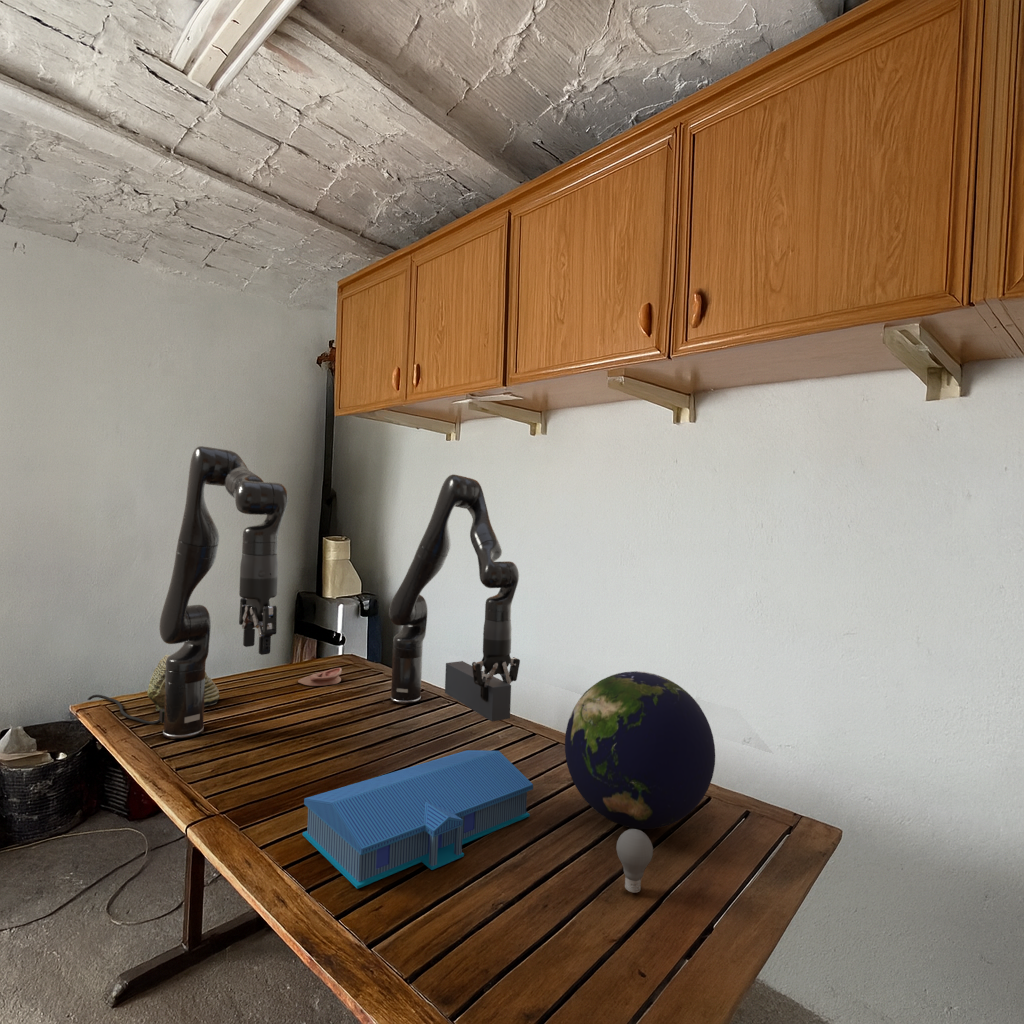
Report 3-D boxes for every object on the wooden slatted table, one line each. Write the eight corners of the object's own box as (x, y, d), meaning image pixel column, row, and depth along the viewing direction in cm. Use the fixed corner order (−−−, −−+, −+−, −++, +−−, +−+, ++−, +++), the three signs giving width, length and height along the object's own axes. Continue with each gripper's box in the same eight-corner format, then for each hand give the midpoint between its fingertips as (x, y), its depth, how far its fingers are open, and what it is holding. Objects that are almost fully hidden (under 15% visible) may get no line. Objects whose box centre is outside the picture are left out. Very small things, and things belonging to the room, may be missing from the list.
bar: (444, 692, 188) (445, 662, 188) (461, 690, 191) (462, 660, 191) (491, 721, 165) (493, 687, 165) (510, 718, 168) (511, 685, 168)
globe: (541, 837, 121) (548, 681, 121) (583, 776, 149) (589, 649, 148) (703, 878, 110) (712, 707, 109) (717, 804, 138) (723, 667, 137)
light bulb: (610, 879, 108) (613, 822, 108) (644, 879, 109) (647, 822, 109) (619, 902, 102) (622, 840, 102) (655, 901, 103) (658, 840, 103)
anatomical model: (293, 672, 210) (311, 663, 221) (292, 684, 210) (310, 675, 221) (330, 676, 207) (346, 667, 219) (329, 688, 208) (345, 678, 219)
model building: (367, 898, 100) (369, 836, 100) (301, 833, 119) (303, 781, 118) (541, 822, 127) (543, 772, 127) (465, 778, 145) (467, 735, 145)
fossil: (144, 707, 182) (145, 655, 182) (212, 696, 194) (213, 647, 194) (151, 716, 175) (153, 662, 175) (221, 703, 188) (223, 653, 188)
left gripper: (290, 577, 133) (287, 654, 134) (263, 570, 144) (260, 641, 144) (254, 579, 128) (251, 659, 128) (229, 572, 138) (226, 645, 139)
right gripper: (480, 641, 162) (478, 706, 163) (527, 636, 170) (525, 699, 170) (466, 635, 169) (464, 698, 169) (512, 631, 176) (510, 691, 177)
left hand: (256, 650), depth 136 cm, fingers open, 8 cm apart
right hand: (495, 698), depth 170 cm, fingers closed on bar, 5 cm apart
